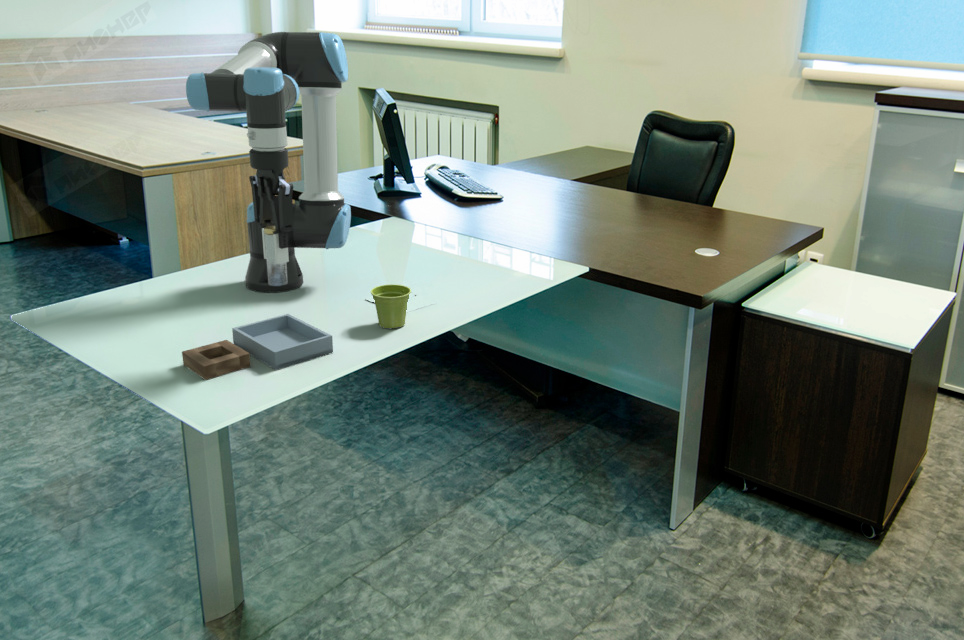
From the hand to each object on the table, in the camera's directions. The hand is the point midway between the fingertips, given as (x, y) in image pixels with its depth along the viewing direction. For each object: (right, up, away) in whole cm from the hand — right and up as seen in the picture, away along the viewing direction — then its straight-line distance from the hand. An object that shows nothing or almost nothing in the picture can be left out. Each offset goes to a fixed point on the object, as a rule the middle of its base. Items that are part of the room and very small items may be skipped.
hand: (276, 259), depth 172 cm
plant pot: (+22, -14, +22) cm, 34 cm away
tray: (0, -19, +7) cm, 20 cm away
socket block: (-12, -22, -2) cm, 25 cm away
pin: (0, -5, +2) cm, 5 cm away
